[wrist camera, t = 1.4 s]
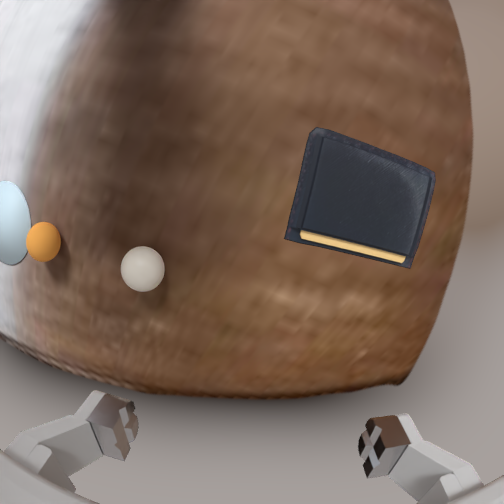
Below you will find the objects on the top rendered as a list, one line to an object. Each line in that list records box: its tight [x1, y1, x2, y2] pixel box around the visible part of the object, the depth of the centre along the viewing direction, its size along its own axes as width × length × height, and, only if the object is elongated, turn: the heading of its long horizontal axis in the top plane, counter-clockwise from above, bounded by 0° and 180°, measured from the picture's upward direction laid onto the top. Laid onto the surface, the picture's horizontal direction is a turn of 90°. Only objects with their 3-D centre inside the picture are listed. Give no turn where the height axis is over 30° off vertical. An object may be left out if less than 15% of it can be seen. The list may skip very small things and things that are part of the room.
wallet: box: [284, 127, 435, 268], centre depth 34 cm, size 20×2×15 cm
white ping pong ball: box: [121, 246, 165, 292], centre depth 33 cm, size 6×6×6 cm
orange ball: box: [26, 222, 61, 262], centre depth 32 cm, size 6×6×6 cm
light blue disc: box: [0, 181, 31, 265], centre depth 34 cm, size 14×14×1 cm
